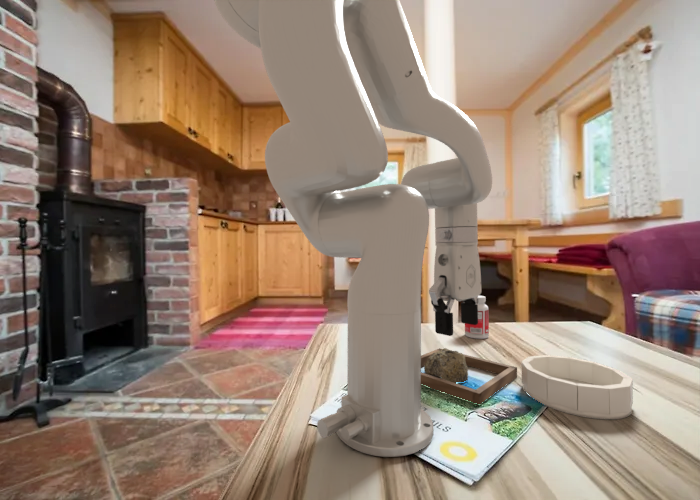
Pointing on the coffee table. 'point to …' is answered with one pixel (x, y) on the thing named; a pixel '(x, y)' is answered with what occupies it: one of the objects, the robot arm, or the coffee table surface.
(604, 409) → the bowl
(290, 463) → the coffee table surface
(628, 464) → the coffee table surface
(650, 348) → the coffee table surface
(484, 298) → the pill bottle
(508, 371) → the rectangular wooden frame
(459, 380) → the rock
